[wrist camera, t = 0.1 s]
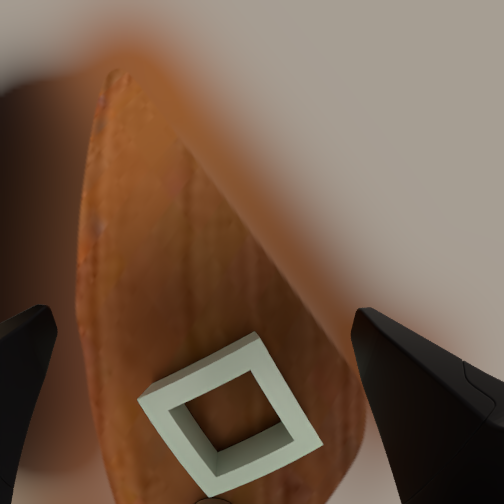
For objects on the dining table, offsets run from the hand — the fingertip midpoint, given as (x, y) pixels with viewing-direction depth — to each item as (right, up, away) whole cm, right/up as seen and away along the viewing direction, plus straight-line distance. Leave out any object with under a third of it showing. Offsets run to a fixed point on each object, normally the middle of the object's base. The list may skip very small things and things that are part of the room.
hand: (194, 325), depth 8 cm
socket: (0, -10, +13) cm, 17 cm away
